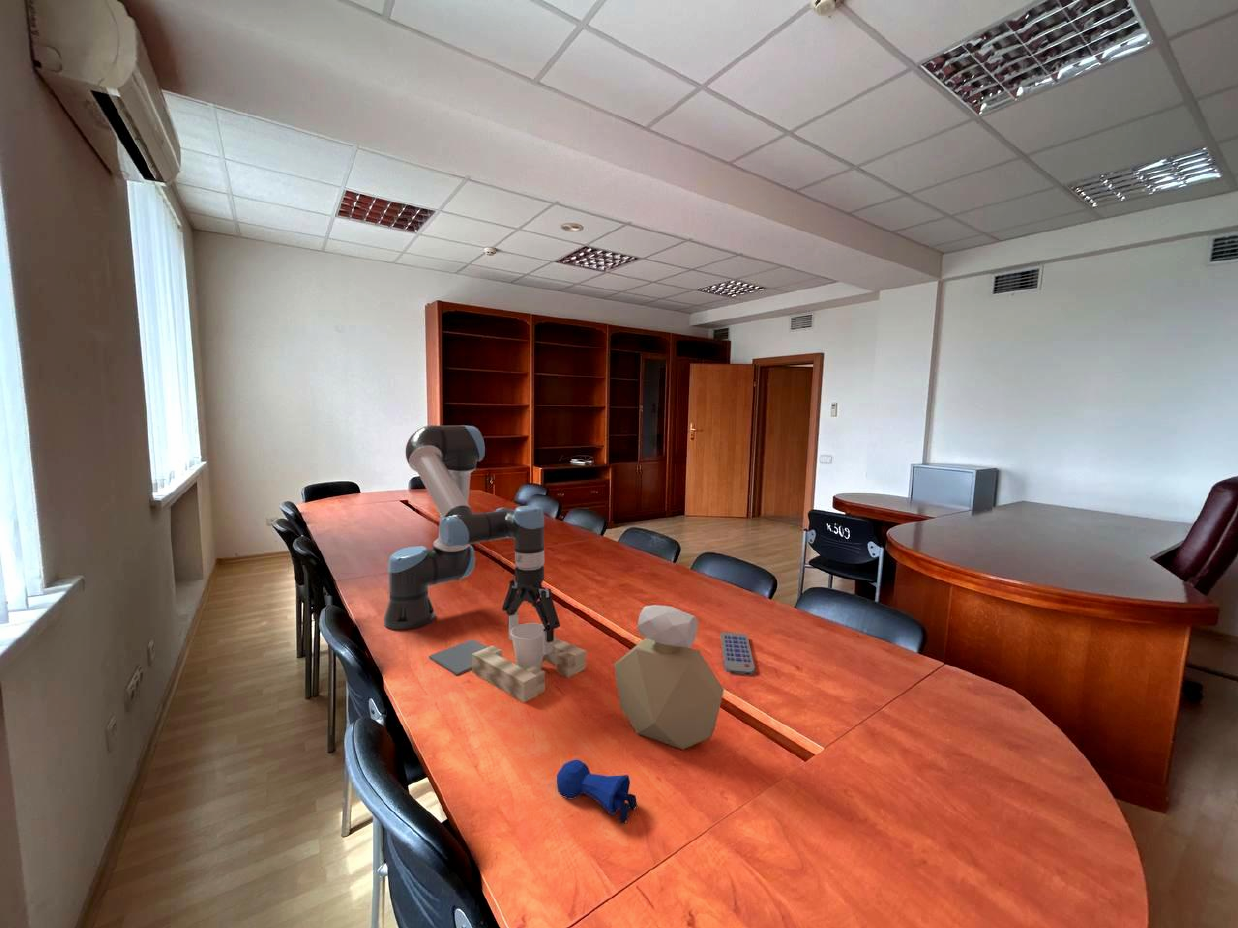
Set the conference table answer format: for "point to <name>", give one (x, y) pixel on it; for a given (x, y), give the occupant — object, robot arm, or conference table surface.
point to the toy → (596, 787)
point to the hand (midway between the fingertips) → (530, 645)
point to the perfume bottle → (668, 680)
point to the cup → (528, 644)
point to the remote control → (737, 654)
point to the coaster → (458, 656)
